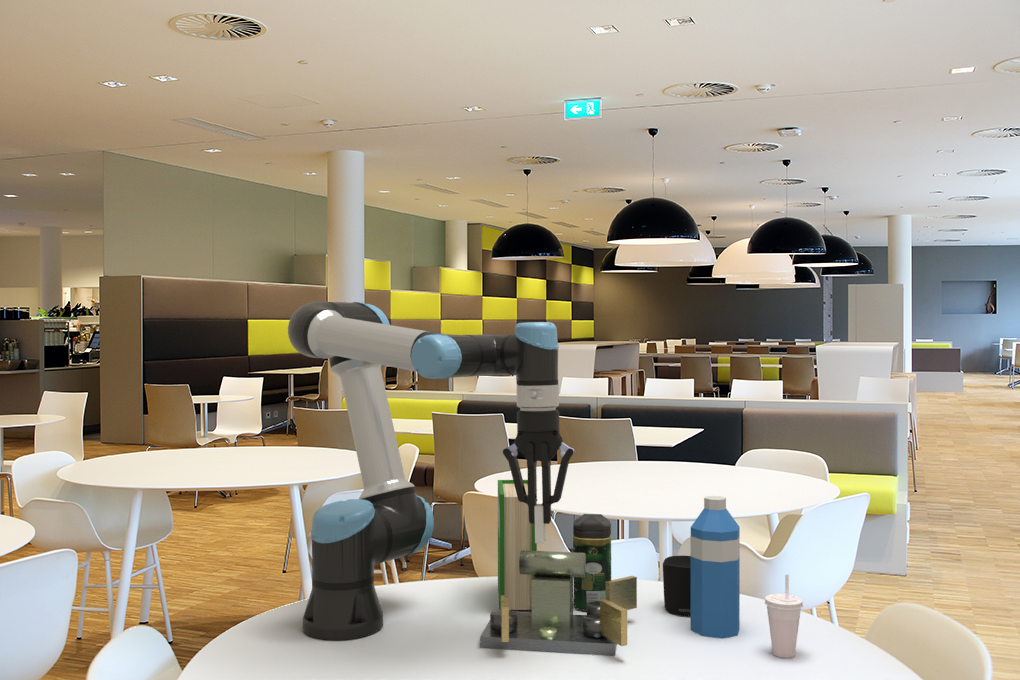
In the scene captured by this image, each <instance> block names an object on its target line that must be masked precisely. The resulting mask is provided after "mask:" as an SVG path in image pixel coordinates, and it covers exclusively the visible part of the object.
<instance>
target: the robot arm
mask: <svg viewBox="0 0 1020 680" xmlns="http://www.w3.org/2000/svg"><path fill="white" fill-rule="evenodd" d="M287 335H288V336H287V337H288V339H289V342H290V344H291V345H292V347H293V348H294V349H295V350H296V352H298V353H300V354H302V355H303V356H306V357H308V358H315V359H326V360H327V359H328V361H329V366H330V370H331V372H332V373H334V374H335V375H338V376H339V378H340V381H341V385H342V386H341V387H342V390H343V395H344V399H345V405H346V409H347V415H348V418H349V419H348V420H349V423H350V424H349V425H350V428H351V429H350V430H351V434H352V439H353V442H354V446H355V447H354V448H355V451H356V452H355V453H356V456H357V460H358V462H357V463H358V466H359V472H360V474H361V480H362V484H363V485H362V486H363V491H362V492H361V494H360V495H359V497H358V498H355V499H354V498H353V499H346V500H339V501H338V500H337V501H334V502H330V503H328V504H325V505H323V506H321V507H319V508H318V509H317V510H316V511H315V512H314V514H313V515H312V516H313V517H312V521H311V522H312V523H311V530H310V537H311V579H312V580H311V581H312V582H311V591H310V594H309V597H308V601H307V604H306V607H305V610H304V613H303V616H302V632H303V633H304V634H305V635H307V636H309V637H311V638H314V639H319V640H328V641H337V640H338V641H342V640H343V641H344V640H352V639H358V638H363V637H364V638H365V637H366V636H369V635H372V634H375V633H377V632H379V631H380V630H382V628H383V626H384V612H383V609H382V606H381V603H380V600H379V597H378V594H377V591H376V588H375V565H378V564H382V563H386V562H389V561H392V560H396V559H400V558H405V557H410V556H411V555H414V554H415V553H418V552H421V551H422V550H423V549H424V548H425V547H426V546H427V545H428V543H429V540H430V539H431V538H432V536H433V532H434V526H435V524H434V523H435V519H434V513H433V509H432V508H431V506H430V503H429V502H428V501H427V502H426V499H425V498H424V497H422V496H420V495H418V494H417V492H416V486H415V485H414V483H412V482H410V481H409V480H407V479H406V476H405V472H404V468H403V463H402V458H401V454H400V449H399V444H398V441H397V435H396V431H395V428H394V423H393V418H392V414H391V409H390V404H389V400H388V396H387V390H386V387H385V382H384V377H383V373H382V372H383V371H382V366H387V367H391V368H395V369H401V370H406V371H411V372H417V373H418V375H419V376H420V377H422V378H424V379H434V380H445V379H450V378H452V379H453V378H467V377H468V378H469V377H486V376H516V377H515V380H516V407H517V408H519V410H518V411H517V412H516V425H517V426H516V428H517V429H516V431H517V432H516V437H515V439H514V443H512V444H511V445H510V446H507V447H504V449H502V455H503V456H504V457H505V459H506V461H508V465H509V469H510V472H511V477H512V480H513V481H514V485H515V489H516V493H517V497H518V500H519V501H520V502H524V503H526V504H527V505H528V507H529V522H530V523H533V524H535V543H537V544H539V545H540V544H545V542H546V541H547V539H546V525H549V524H550V523H551V521H552V505H553V504H555V503H558V502H559V501H560V500H561V499H562V497H563V490H564V486H565V482H566V476H567V472H568V468H569V464H570V463H569V462H570V461H571V458H572V457H573V455H574V454H575V452H576V451H575V450H576V449H575V448H574V447H572V446H571V447H570V446H568V445H567V444H566V443H564V442H563V441H564V440H563V437H562V436H561V433H560V431H561V430H560V411H559V410H558V409H556V408H557V407H559V405H560V390H559V389H560V385H559V347H560V345H559V344H558V329H557V326H556V325H555V324H554V323H553V322H550V321H549V322H547V321H545V322H544V321H537V322H535V321H534V322H533V321H532V322H531V321H530V322H529V321H527V322H518V323H517V324H516V325H515V331H514V333H511V334H481V333H480V334H479V333H478V334H448V333H440V332H436V331H435V332H434V331H429V330H428V331H427V330H421V329H416V328H410V327H404V326H399V325H391V324H390V321H389V319H388V317H387V316H386V314H385V313H384V312H383V311H382V309H380V308H379V307H377V306H376V305H373V304H371V303H364V302H360V301H353V302H345V301H344V302H342V301H311V302H308V303H305V304H303V305H301V306H299V308H297V309H296V310H295V311H294V313H292V315H291V317H290V318H289V321H288V326H287ZM559 449H560V452H559V453H560V454H559V455H560V457H561V460H560V463H559V468H558V473H557V476H556V477H557V478H556V481H555V484H554V485H555V486H554V491H553V494H552V476H551V469H552V468H551V465H552V459H554V457H555V455H556V454H557V452H558V451H559ZM519 452H520V453H521V455H522V456H523V458H524V459H525V460H526V466H527V480H528V495H527V494H526V490H525V486H524V482H523V480H524V479H523V476H522V470H521V468H520V464H519V463H520V462H519V460H518V454H519ZM537 462H541V463H540V466H541V486H542V487H541V492H542V493H541V496H542V499H541V500H542V503H538V492H537V491H538V489H537V488H538V487H537V485H538V484H537V482H538V480H537V476H538V475H537V465H538V463H537ZM536 502H537V504H536Z"/></svg>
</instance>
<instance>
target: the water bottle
mask: <svg viewBox="0 0 1020 680" xmlns="http://www.w3.org/2000/svg"><path fill="white" fill-rule="evenodd" d="M703 507H704V508H703V509H702V511H701V512H700V513H699V515H698V516H697V517H696V518H695V520H694V522H693V523H692V524H691V526H690V556H691V617H690V631H692V632H694V633H695V634H698V635H699V636H701V637H707V638H716V639H725V638H731V637H736V636H738V635H739V632H740V629H741V628H740V623H741V622H740V620H741V619H740V617H741V616H740V610H741V609H740V608H741V607H740V594H741V593H740V586H741V585H740V582H741V581H740V576H741V575H740V571H741V570H740V562H741V561H740V553H741V551H740V548H741V546H740V545H741V544H740V542H741V541H740V539H741V538H740V534H741V533H740V532H741V530H740V525H739V523H738V522H737V521H736V520H735V518H734V517H733V516H732V514H731V513H730V511H729V510H728V509H727V497H724V496H720V495H708V496H706V495H705V497H704V498H703Z"/></svg>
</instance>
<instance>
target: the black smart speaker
mask: <svg viewBox="0 0 1020 680" xmlns="http://www.w3.org/2000/svg"><path fill="white" fill-rule="evenodd" d="M662 580H663V581H662V583H663V585H662V586H663V600H664V601H663V602H664V605H663V606H664V610H665V611H666V612H667V613H669V614H671V615H674V616H678V617H679V616H680V617H686V618H687V617H688V618H691V555H672V556H667V557H665V559H664V560H663V562H662Z"/></svg>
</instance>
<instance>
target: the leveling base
mask: <svg viewBox="0 0 1020 680" xmlns="http://www.w3.org/2000/svg"><path fill="white" fill-rule="evenodd" d="M519 572H520V574H521V575H534V576H533V578H532V610H531V611H517V610H514V611H515V612H517V629H516V630H514V631H511V632H509V642H502V638H501V632H497V631H493V630H491V629H490V619H489V621H488V622H487V624H486V625H485V627H484V629H483V630H482V633H481V634H480V636H479V648H482V649H497V650H516V651H531V652H532V651H533V652H545V653H546V652H550V653H564V654H565V653H566V654H581V655H582V654H583V655H599V656H601V655H602V656H616V653H617V645H618V644H616V643H615V642H613V641H611V640H610V639H608V638H606V637H590V636H587V635H585V634H583V617H584V616H586V614H574V579H573V577H585V573H586V554H585V553H577V552H573V551H571V552H570V551H549V550H537V551H527V550H521V552H520V557H519ZM496 610H497V609H495V610H494V611H496Z"/></svg>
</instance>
